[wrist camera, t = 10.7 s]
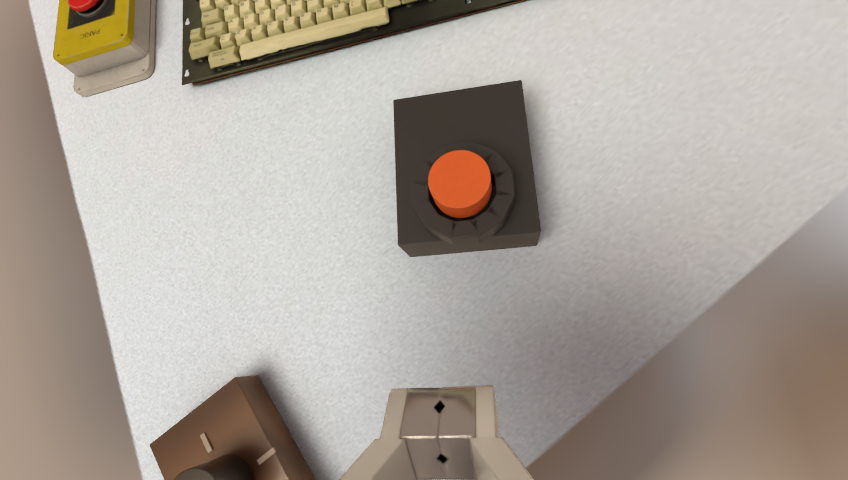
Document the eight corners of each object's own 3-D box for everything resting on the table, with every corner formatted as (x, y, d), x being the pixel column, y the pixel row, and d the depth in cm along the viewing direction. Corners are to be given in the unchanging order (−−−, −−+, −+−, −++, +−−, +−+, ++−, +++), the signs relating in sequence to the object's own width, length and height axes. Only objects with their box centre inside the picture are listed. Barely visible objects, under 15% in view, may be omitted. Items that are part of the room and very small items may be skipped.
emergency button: (124, -67, 44) (117, 48, 40) (157, -31, 48) (153, 76, 44) (49, -41, 45) (35, 73, 41) (88, -8, 50) (78, 98, 45)
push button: (494, 215, 28) (493, 204, 26) (434, 221, 28) (429, 211, 26) (489, 159, 29) (487, 145, 27) (431, 167, 29) (426, 153, 27)
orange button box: (537, 251, 32) (544, 229, 26) (410, 262, 34) (390, 244, 28) (519, 109, 35) (522, 62, 30) (404, 125, 37) (386, 84, 31)
